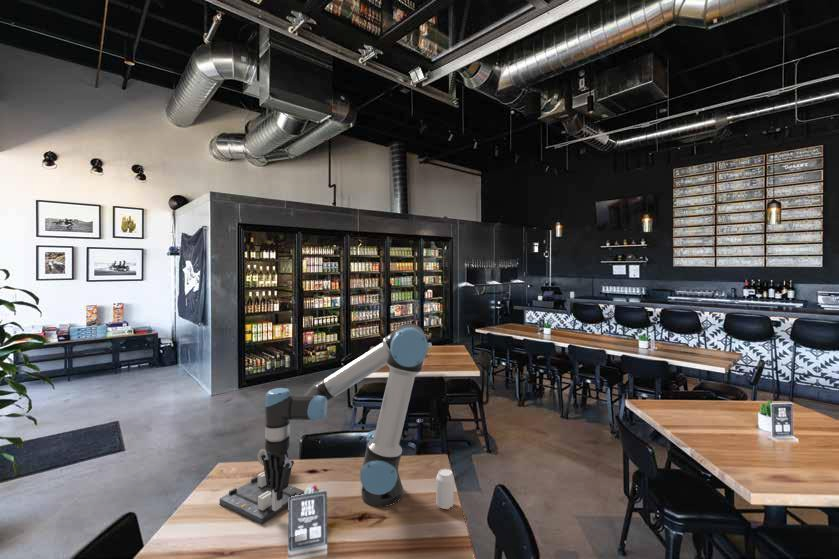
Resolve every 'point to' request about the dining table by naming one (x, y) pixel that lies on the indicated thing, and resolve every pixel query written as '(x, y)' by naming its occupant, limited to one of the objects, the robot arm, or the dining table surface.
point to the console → (255, 501)
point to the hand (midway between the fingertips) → (276, 508)
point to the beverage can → (444, 488)
